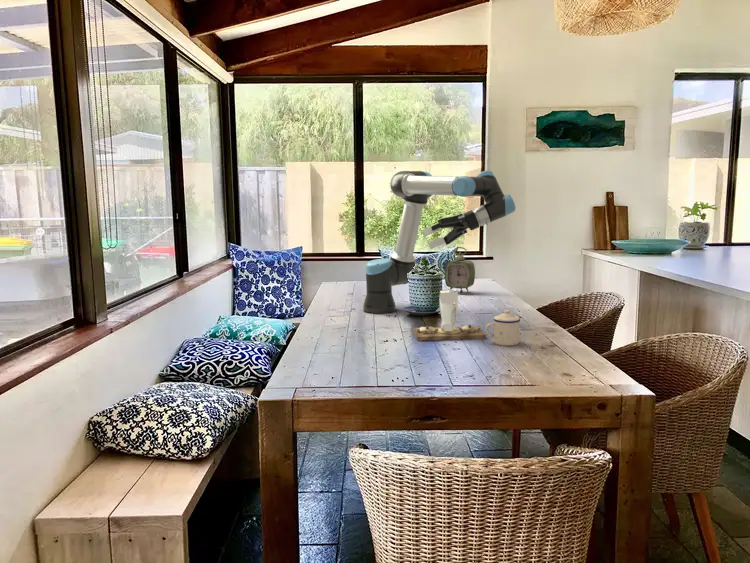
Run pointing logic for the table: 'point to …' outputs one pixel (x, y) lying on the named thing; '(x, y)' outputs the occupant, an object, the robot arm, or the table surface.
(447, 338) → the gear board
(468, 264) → the tabletop clock
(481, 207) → the robot arm
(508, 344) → the teacup with lid
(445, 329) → the beer glass
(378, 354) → the table surface
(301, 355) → the table surface
